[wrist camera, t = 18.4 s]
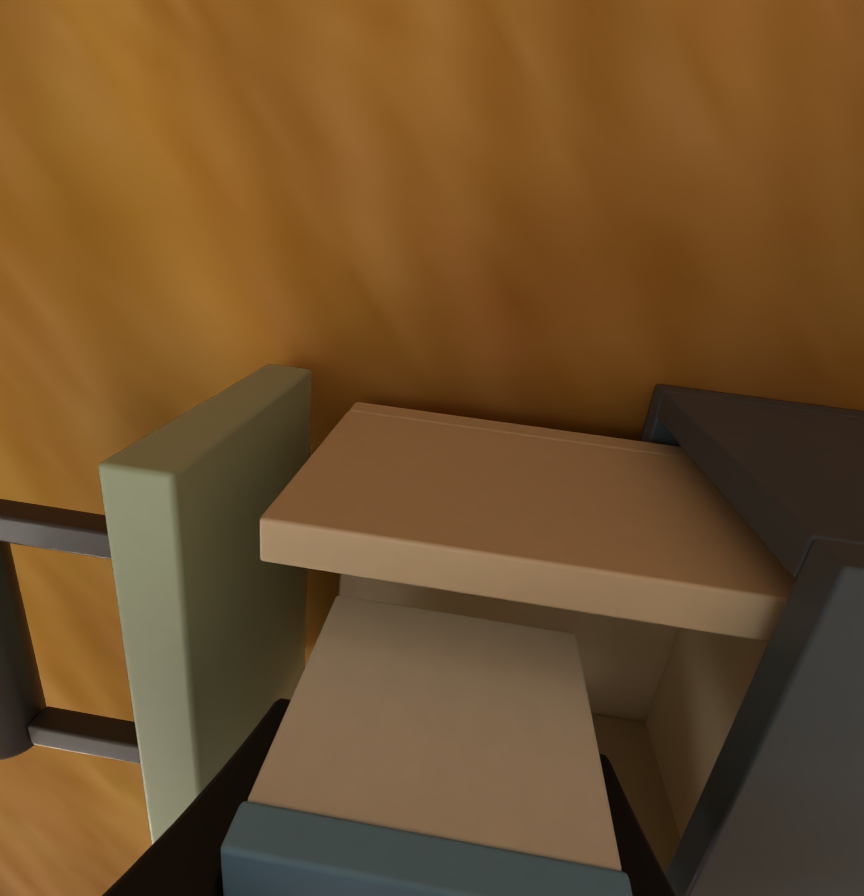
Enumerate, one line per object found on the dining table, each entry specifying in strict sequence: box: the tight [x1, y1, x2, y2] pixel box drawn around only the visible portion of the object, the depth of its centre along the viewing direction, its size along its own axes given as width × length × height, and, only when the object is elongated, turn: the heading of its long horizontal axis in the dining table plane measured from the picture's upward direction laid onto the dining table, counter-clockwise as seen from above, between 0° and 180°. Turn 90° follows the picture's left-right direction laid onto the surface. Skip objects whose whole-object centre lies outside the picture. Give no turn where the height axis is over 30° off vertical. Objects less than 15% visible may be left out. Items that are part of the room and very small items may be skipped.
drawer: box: [0, 364, 796, 874], centre depth 13 cm, size 17×10×6 cm, turn 84°
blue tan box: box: [221, 596, 633, 896], centre depth 9 cm, size 5×5×5 cm
